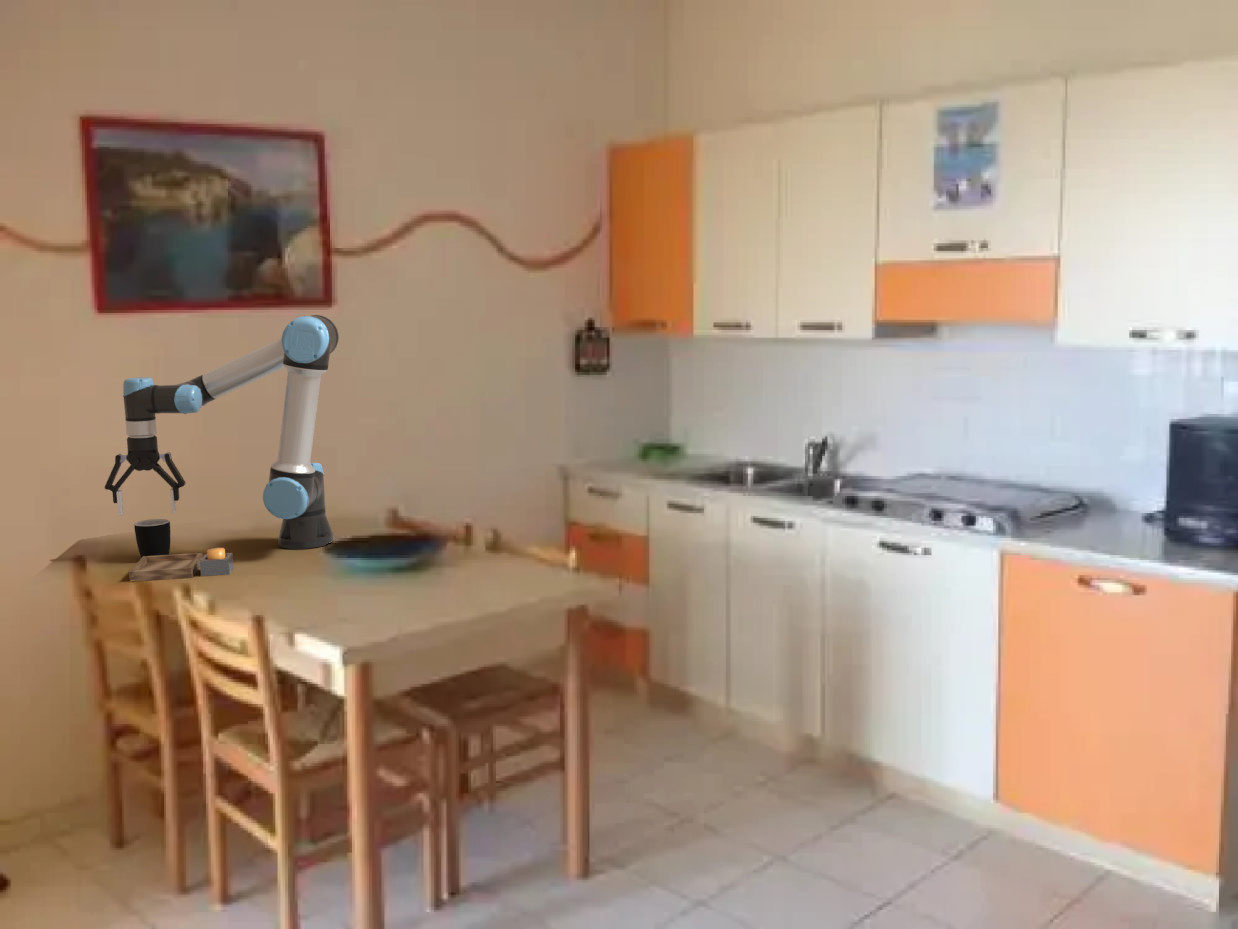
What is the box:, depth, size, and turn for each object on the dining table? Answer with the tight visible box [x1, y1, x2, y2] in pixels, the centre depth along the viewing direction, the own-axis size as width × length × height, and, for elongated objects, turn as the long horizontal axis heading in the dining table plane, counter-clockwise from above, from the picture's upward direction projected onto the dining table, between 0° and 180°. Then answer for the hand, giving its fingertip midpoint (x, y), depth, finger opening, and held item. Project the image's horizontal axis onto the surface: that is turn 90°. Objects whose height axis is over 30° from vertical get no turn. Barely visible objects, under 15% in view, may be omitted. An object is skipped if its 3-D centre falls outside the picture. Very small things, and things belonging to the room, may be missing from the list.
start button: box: [206, 547, 226, 559], centre depth 310 cm, size 4×4×5 cm
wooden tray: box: [128, 552, 204, 582], centre depth 312 cm, size 15×17×2 cm
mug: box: [134, 518, 171, 559], centre depth 327 cm, size 12×9×10 cm
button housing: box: [199, 552, 234, 577], centre depth 310 cm, size 7×7×4 cm
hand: (147, 514), depth 326 cm, fingers open, 13 cm apart
